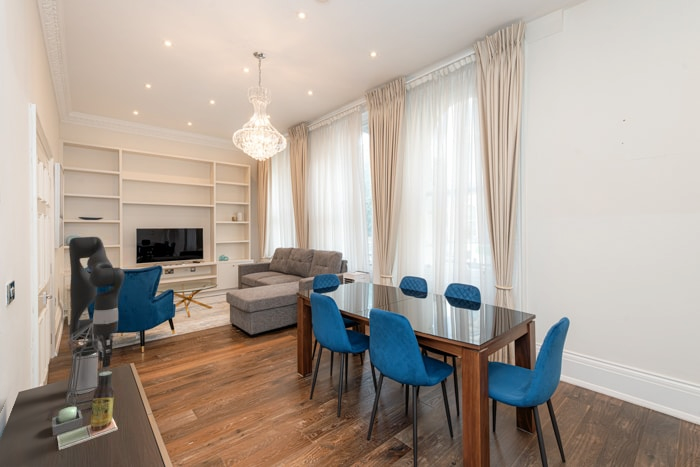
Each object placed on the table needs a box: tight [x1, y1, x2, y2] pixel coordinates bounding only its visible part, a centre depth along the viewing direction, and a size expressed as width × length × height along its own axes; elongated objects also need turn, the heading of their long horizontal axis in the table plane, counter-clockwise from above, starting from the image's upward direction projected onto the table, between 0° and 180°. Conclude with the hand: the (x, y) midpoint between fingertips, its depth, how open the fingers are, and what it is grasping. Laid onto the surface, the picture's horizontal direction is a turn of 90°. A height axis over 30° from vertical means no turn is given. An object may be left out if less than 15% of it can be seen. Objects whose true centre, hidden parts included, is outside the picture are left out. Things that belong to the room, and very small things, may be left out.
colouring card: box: [56, 417, 119, 451], centre depth 113 cm, size 10×16×1 cm, turn 136°
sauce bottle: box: [90, 370, 115, 431], centre depth 116 cm, size 7×6×20 cm
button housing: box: [51, 409, 84, 437], centre depth 117 cm, size 8×8×3 cm
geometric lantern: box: [64, 323, 115, 412], centre depth 133 cm, size 16×16×35 cm
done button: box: [58, 406, 77, 424], centre depth 117 cm, size 5×5×4 cm
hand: (104, 363), depth 117 cm, fingers open, 8 cm apart
